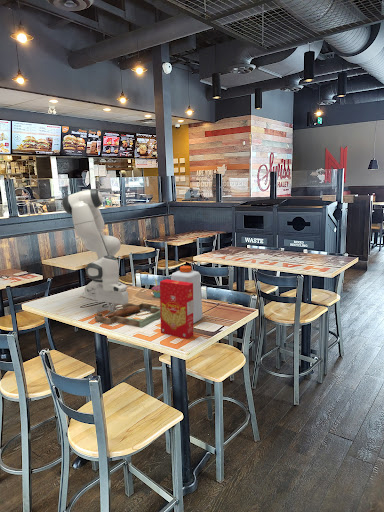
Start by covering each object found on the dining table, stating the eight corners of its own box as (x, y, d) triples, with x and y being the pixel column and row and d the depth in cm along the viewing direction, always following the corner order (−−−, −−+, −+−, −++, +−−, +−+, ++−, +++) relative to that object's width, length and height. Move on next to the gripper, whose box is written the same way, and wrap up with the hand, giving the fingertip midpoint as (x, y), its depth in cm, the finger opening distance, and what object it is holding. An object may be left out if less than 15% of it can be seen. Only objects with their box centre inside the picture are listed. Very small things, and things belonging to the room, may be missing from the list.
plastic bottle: (191, 326, 190) (191, 271, 185) (165, 321, 197) (165, 267, 193) (205, 317, 203) (205, 265, 198) (180, 313, 210) (180, 262, 206)
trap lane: (92, 321, 198) (92, 315, 197) (127, 305, 224) (127, 300, 223) (136, 330, 185) (136, 323, 185) (168, 312, 211) (168, 306, 211)
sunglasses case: (130, 309, 218) (134, 300, 214) (137, 317, 214) (141, 308, 211) (104, 317, 204) (107, 307, 201) (111, 326, 201) (115, 316, 198)
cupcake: (149, 297, 240) (148, 278, 238) (155, 294, 248) (154, 275, 246) (161, 298, 238) (161, 279, 235) (167, 295, 245) (167, 276, 243)
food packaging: (160, 332, 182) (159, 281, 177) (167, 329, 186) (166, 279, 182) (187, 339, 174) (186, 285, 170) (193, 335, 179) (193, 283, 174)
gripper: (92, 284, 210) (93, 309, 212) (122, 289, 200) (123, 314, 203) (100, 282, 215) (101, 306, 218) (129, 286, 206) (130, 311, 208)
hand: (112, 310), depth 210 cm, fingers closed
